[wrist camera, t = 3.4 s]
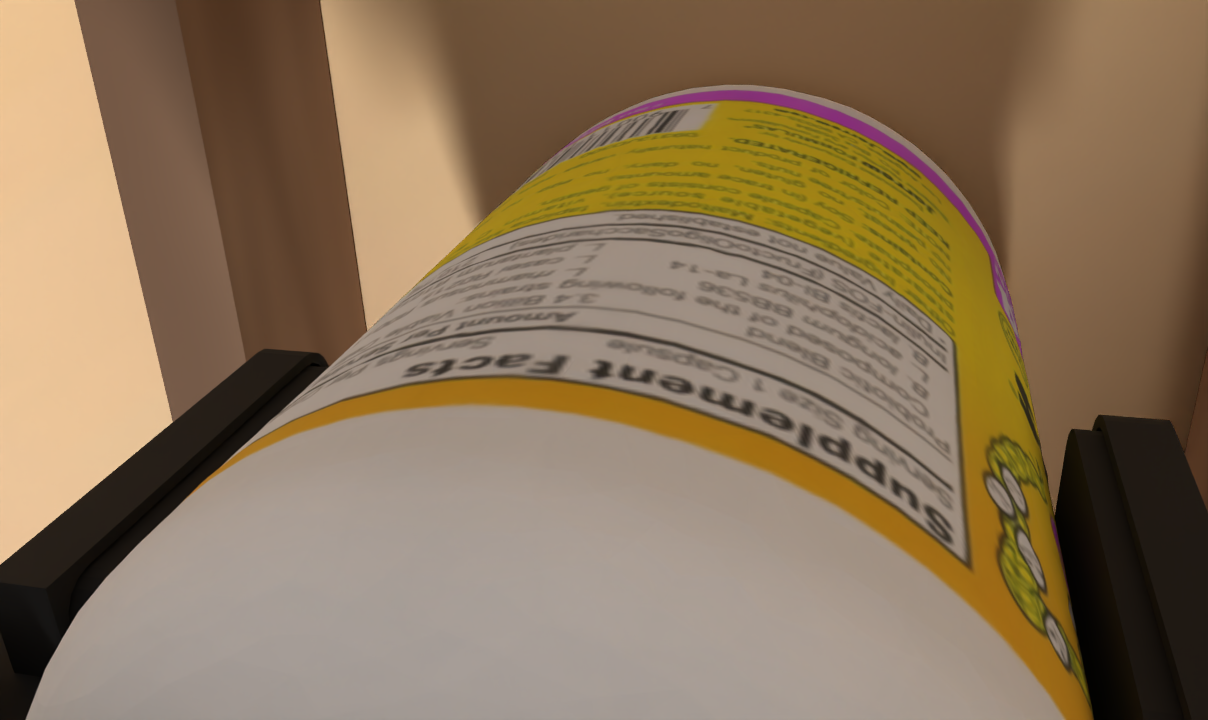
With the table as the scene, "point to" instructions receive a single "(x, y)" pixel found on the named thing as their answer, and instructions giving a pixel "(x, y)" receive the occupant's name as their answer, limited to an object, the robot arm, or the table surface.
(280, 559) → the supplement bottle
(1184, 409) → the table surface
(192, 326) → the holder
